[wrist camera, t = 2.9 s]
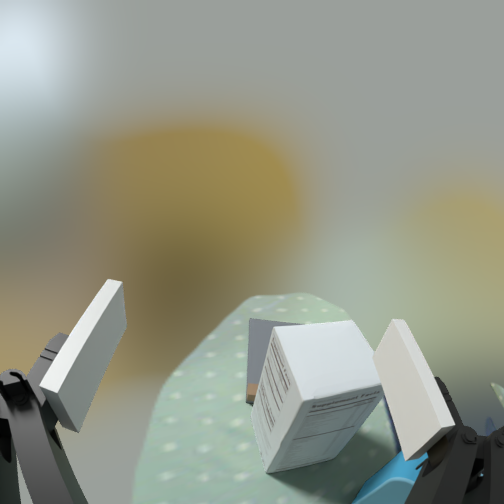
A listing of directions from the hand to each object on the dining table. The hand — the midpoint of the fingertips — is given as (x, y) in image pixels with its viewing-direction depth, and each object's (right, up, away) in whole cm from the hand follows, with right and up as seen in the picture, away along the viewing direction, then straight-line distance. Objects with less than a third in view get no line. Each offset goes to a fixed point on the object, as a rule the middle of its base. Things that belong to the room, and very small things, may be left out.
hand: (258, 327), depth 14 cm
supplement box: (+5, -21, +20) cm, 29 cm away
